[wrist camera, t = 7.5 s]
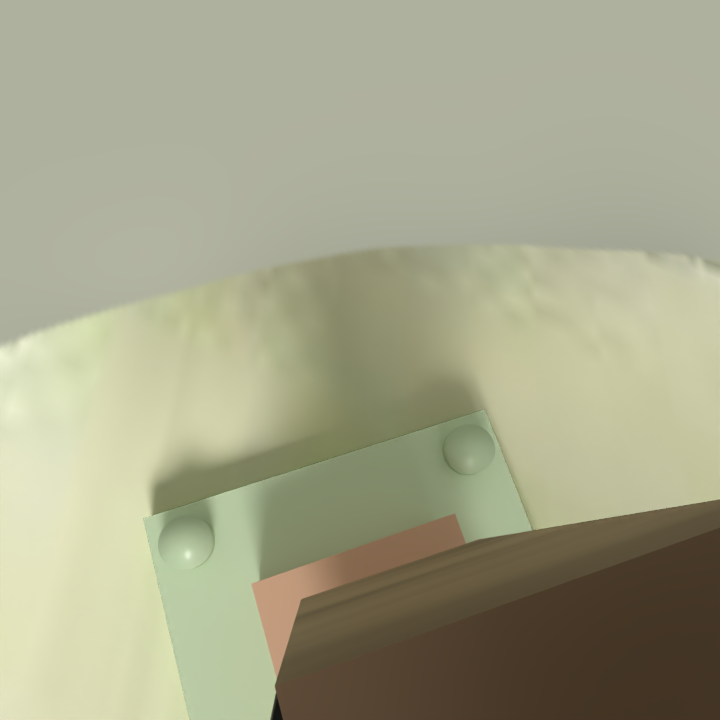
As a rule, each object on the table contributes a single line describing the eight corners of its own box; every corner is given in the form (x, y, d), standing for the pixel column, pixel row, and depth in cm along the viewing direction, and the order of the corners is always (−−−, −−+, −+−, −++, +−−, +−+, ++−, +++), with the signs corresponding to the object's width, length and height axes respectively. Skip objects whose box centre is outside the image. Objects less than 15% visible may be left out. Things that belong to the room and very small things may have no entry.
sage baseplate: (612, 767, 20) (644, 788, 18) (246, 926, 18) (239, 968, 17) (476, 416, 24) (491, 403, 22) (151, 520, 22) (136, 516, 20)
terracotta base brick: (503, 711, 20) (535, 736, 17) (315, 787, 19) (317, 828, 16) (435, 519, 21) (454, 513, 18) (259, 580, 20) (251, 583, 17)
